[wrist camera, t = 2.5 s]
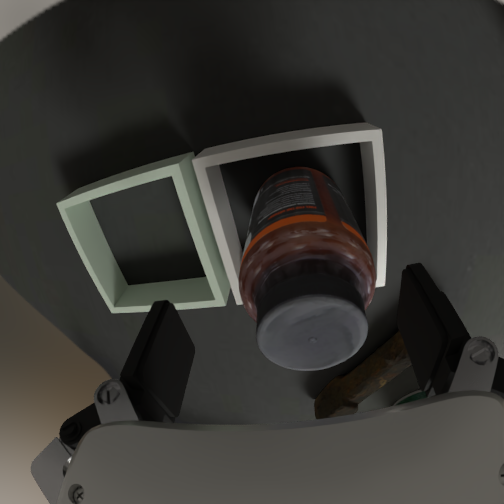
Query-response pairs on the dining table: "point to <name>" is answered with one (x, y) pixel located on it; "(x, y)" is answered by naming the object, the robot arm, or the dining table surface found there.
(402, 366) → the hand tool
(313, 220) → the supplement bottle
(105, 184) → the sage bin
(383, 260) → the grey bin
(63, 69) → the dining table surface
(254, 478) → the robot arm
